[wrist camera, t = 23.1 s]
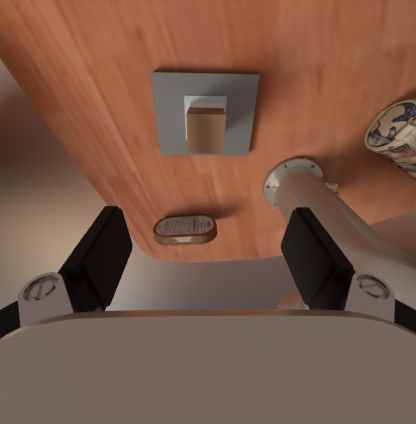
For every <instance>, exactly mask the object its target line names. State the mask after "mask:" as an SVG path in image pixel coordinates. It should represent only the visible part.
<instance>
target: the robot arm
mask: <svg viewBox="0 0 416 424" xmlns="http://www.w3.org/2000/svg"><path fill="white" fill-rule="evenodd" d="M337 188H338V184H337V183H327V182H326V181H325V180H324V179H323V173H322V170H321V168H320V167H319V166H318V165H317V164H316V163H315V162H314V161H312V160H310V159H307V158H292V159H289V160H286V161H284V162H282V163H280V164H279V165H277V166H276V167H275V168H274V169H273V170H272V171H271V172H270V173H269V174H268V176H267V178H266V180H265V182H264V188H263V191H264V196H265V198H266V200H267V201H268V203H269V204H270V205H272V206H273V207H275V208H278V209H280V211H281V213H282V215H283V217H284V219H285V220H286V222H287V224H288V225H287V228H286V231H285V234H284V237H283V240H282V243H281V250H282V253H283V255H284V257H285V260H286V262H287V264H288V267H289V269H290V271H291V274H292V276H293V278H294V281H295V283H296V285H297V289H296V290H294V291H292V292H291V293H289V294H288V295H286V296H285V297H284V298H283V299H282V301H281V302H280V304H279V307H278V309H266V310H265V309H262V310H260V309H255V310H254V309H252V310H247V309H245V310H145V311H144V310H137V311H105V309H106V307H107V306H109V305H110V304H111V301H112V299H113V297H114V294H115V291H116V289H117V287H118V284H119V281H120V279H121V276H122V274H123V271H124V269H125V266H126V264H127V261H128V258H129V256H130V254H131V251H132V241H131V238H130V235H129V231H128V228H127V225H126V221H125V218H124V215H123V211H122V209H119V208H118V207H117V206H105V207H104V209H103V210H102V211H101V213H100V214H99V216H98V217H97V218H96V220H95V221H94V222H93V224H92V225H91V227H90V228H89V229H88V231H87V233H86V234H85V235H84V236H83V238H82V239H81V240H80V242H79V243H78V245H77V246H76V247H75V249H74V250H73V252H72V253H71V255H70V256H69V257H68V259H67V260H66V262H65V263H64V264H63V266H62V267H61V268H60V270H59V271H58V273H54V272H50V273H45V274H42V275H40V276H37V277H35V278H34V279H32V280H31V281H29V282H28V283H27V284H26V285H25V286H24V287H23V288H22V289H21V291H20V293H19V295H18V300H17V301H16V302H14V303H12V304H10V305H8V306H6V307H5V308H3V309H1V310H0V424H416V261H415V260H414V259H412V258H411V257H409V256H408V255H406V254H405V253H404V252H402V251H401V250H399V249H398V248H397V247H395V246H394V245H392V244H391V243H390V242H388V241H387V240H386V239H385V238H383V237H382V236H381V235H379V234H378V233H377V232H376V231H375V230H373V228H371V227H370V226H369V225H368V224H367V223H366V222H365V221H364V220H362V219H361V218H360V217H359V216H358V215H357V214H356V213H355V212H354V211H353V210H352V209H351V208H350V207H349V206H348V205H347V204H346V203H345V202H344V201H343V200H342V199H341V198H340V197H339V193H338V192H333V191H332V190H331V189H337Z"/></svg>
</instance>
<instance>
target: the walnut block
mask: <svg viewBox="0 0 416 424" xmlns="http://www.w3.org/2000/svg"><path fill="white" fill-rule="evenodd" d="M186 116H187V144H188V153H207V154H223V152H224V139H225V125H226V113H225V111H224V109H223V108H199V107H189V108H188V111H187V114H186Z"/></svg>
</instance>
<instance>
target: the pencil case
mask: <svg viewBox="0 0 416 424" xmlns="http://www.w3.org/2000/svg"><path fill="white" fill-rule="evenodd" d="M364 143H365V145H366V147H367V148H368V149H370V150H372V151H374V152H376V153H379V154H381V155H382V156H384V157H386V158H387V159H388V160H390V161H391V162H393V163H394V164H396V165H397V166H398V167H400V168H401V169H402V170H403V171H405V172H406V173H408V174H410V175H411V176H412V177H413V178H414V179H415V180H416V99H409V100H404V101H400V102H398V103H395V104H393V105H391V106H390V107H388V108H386V109H385V110H383V111H382V112H381V113H380V114H379V115H378V116H377V117H376V118H375V120H374V121H373V122H372V124H371V125H370V127H369V128H368V130H367V132H366V134H365V137H364Z"/></svg>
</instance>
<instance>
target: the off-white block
mask: <svg viewBox="0 0 416 424" xmlns="http://www.w3.org/2000/svg"><path fill="white" fill-rule="evenodd" d="M189 107H199V108H223V107H222V105H221V103H190V106H189Z"/></svg>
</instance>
